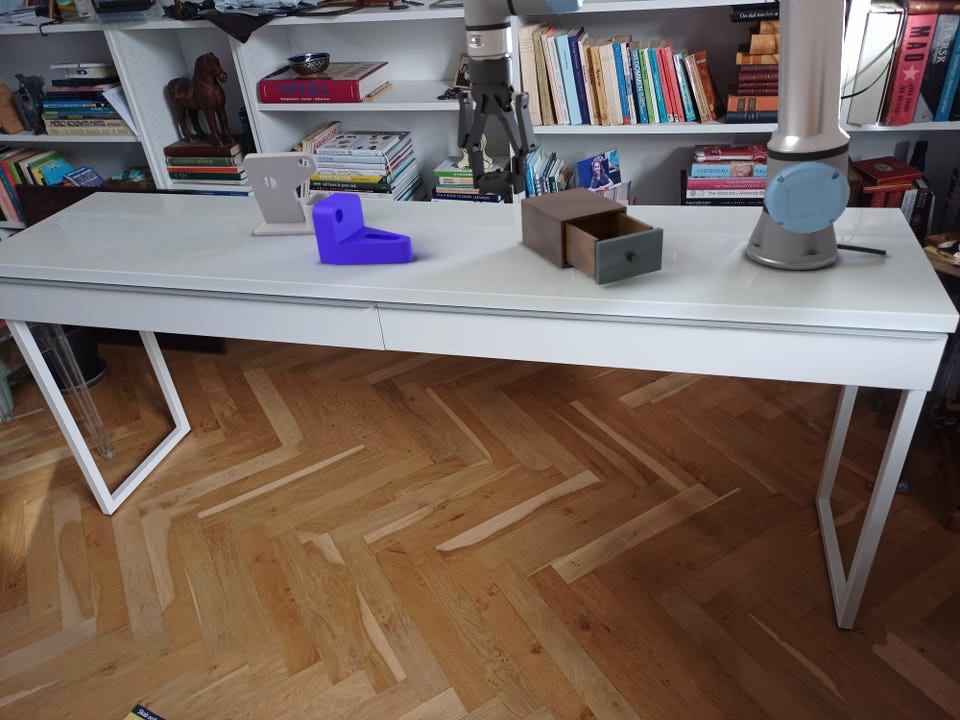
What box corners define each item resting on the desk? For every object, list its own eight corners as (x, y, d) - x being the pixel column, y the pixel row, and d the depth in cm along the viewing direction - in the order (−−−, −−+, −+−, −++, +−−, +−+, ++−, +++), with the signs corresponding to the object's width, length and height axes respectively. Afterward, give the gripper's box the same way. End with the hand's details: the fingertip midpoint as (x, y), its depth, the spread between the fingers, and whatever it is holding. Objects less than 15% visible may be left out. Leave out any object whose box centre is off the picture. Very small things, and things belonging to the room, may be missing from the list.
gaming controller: (512, 193, 129) (487, 169, 128) (493, 214, 132) (468, 191, 131) (523, 177, 138) (499, 155, 137) (505, 197, 140) (481, 176, 139)
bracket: (320, 262, 149) (310, 206, 144) (349, 244, 158) (340, 190, 152) (399, 270, 143) (391, 211, 137) (424, 250, 152) (417, 194, 146)
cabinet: (625, 252, 143) (627, 206, 138) (561, 268, 138) (560, 220, 134) (582, 229, 156) (582, 186, 152) (522, 243, 151) (520, 199, 147)
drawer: (665, 271, 131) (667, 231, 128) (602, 287, 127) (603, 246, 124) (614, 244, 145) (615, 207, 141) (556, 258, 141) (555, 220, 137)
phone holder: (338, 218, 174) (325, 141, 165) (326, 233, 165) (311, 152, 157) (268, 221, 176) (251, 144, 168) (252, 235, 168) (234, 155, 159)
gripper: (428, 59, 127) (441, 189, 138) (530, 60, 115) (536, 202, 126) (455, 53, 132) (466, 178, 143) (555, 53, 120) (559, 190, 131)
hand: (499, 189), depth 135 cm, fingers closed on gaming controller, 8 cm apart
